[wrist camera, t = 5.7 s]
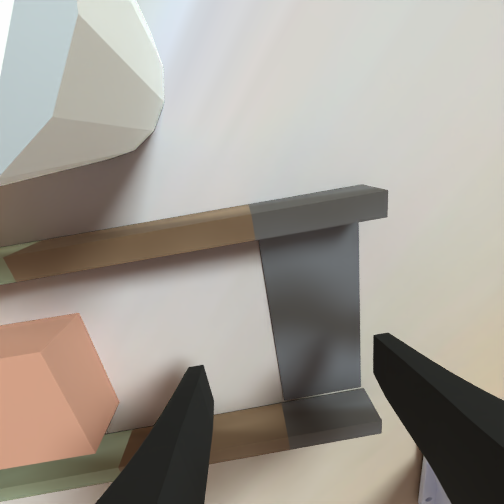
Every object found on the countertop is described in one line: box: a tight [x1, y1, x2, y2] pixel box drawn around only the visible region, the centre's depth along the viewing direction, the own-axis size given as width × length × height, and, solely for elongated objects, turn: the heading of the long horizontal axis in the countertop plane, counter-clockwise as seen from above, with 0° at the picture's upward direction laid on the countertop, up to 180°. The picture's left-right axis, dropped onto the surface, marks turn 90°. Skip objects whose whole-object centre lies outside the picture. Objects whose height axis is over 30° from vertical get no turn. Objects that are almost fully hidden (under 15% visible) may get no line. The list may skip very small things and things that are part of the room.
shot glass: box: [0, 0, 164, 186], centre depth 6 cm, size 7×7×7 cm
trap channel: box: [0, 185, 388, 502], centre depth 12 cm, size 13×29×2 cm, turn 99°
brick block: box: [0, 313, 119, 470], centre depth 12 cm, size 6×7×3 cm
